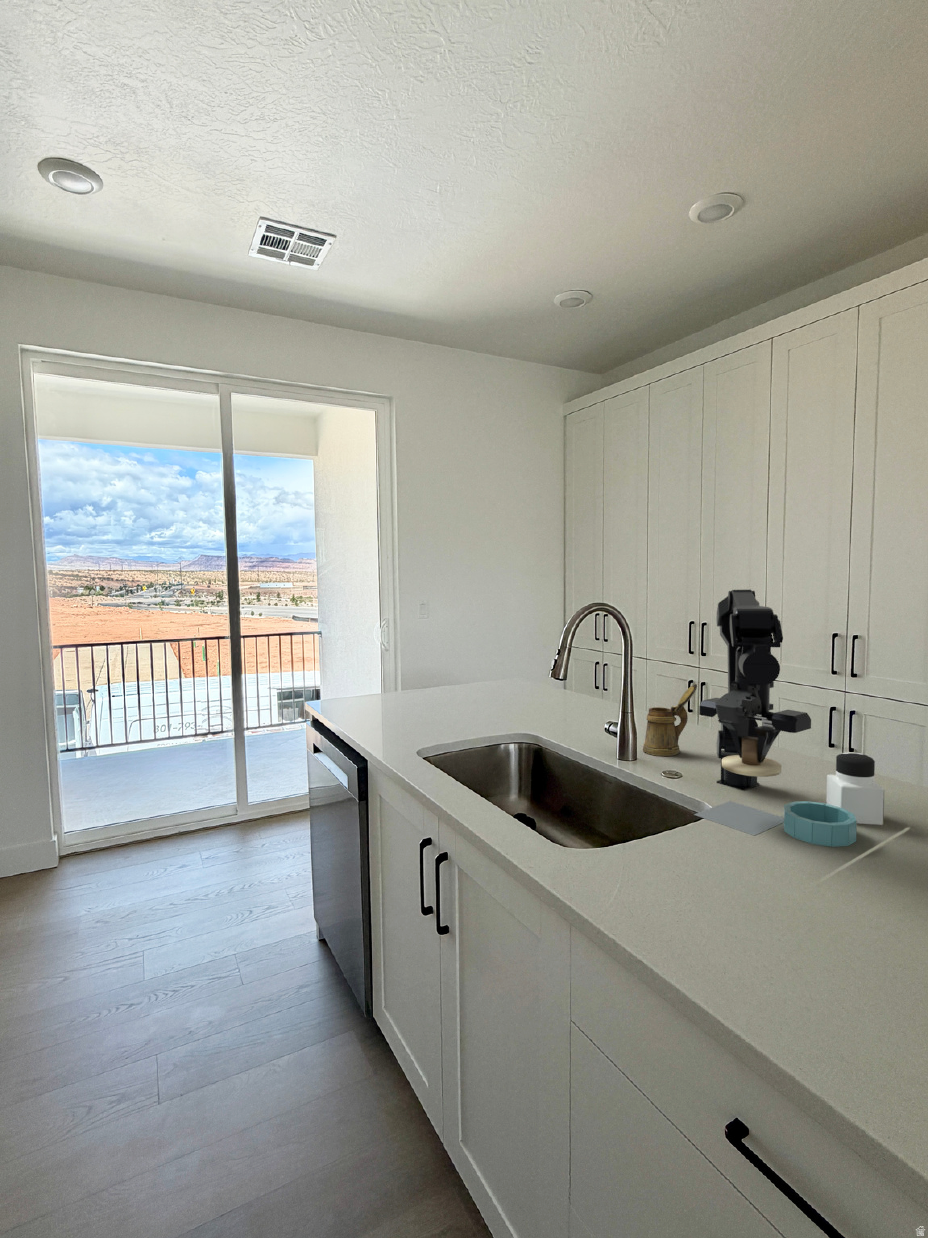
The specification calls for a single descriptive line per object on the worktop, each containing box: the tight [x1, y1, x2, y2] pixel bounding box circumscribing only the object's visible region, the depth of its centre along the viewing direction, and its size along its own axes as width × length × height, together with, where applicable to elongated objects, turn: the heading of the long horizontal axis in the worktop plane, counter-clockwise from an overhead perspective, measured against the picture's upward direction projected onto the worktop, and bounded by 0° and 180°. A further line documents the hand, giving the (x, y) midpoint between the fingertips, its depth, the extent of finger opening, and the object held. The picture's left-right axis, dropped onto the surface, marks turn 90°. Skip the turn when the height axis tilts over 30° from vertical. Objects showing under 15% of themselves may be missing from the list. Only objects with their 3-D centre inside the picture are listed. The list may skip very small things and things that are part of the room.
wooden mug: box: [642, 684, 698, 757], centre depth 159 cm, size 9×14×18 cm, turn 80°
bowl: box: [783, 800, 858, 848], centre depth 107 cm, size 11×11×4 cm
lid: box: [722, 737, 782, 778], centre depth 113 cm, size 10×10×6 cm
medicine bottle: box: [826, 752, 885, 826], centre depth 114 cm, size 7×7×12 cm
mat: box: [693, 800, 784, 837], centre depth 115 cm, size 12×12×1 cm
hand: (751, 760), depth 113 cm, fingers closed on lid, 3 cm apart
